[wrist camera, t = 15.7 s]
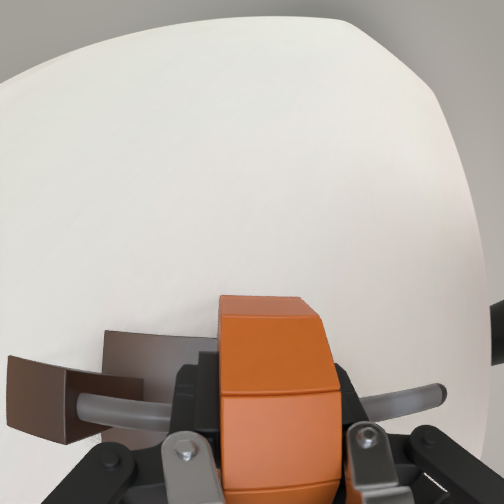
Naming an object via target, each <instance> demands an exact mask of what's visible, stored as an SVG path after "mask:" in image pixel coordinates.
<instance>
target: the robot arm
mask: <svg viewBox="0 0 504 504" xmlns="http://www.w3.org/2000/svg"><path fill="white" fill-rule="evenodd" d="M334 365H335V368H336V372H337V376H338V379H339V383H340V390H339V391H340V392H341V403H342V467H341V478H340V479H339V480H340V484H339V487H338V489H337V492H336V495H335V497H334V500H333V502H332V504H504V478H502V477H501V476H500V475H498V474H497V473H495V472H494V471H493V470H492V469H490V468H489V467H487V466H486V465H485V464H484V463H482V462H481V461H480V460H478V459H477V458H476V457H474V456H473V455H472V454H470V453H469V452H468V451H467V450H465V449H464V448H463V447H461V446H460V445H459V444H457V443H456V442H455V441H454V440H452V439H451V438H450V437H448V436H447V435H446V434H444V433H443V432H442V431H441V430H439V429H438V428H436V427H434V426H431V425H421V426H418V427H417V428H415V429H414V430H413V431H412V433H411V434H410V435H402V434H388V433H386V432H385V430H384V429H383V428H382V427H381V426H379V425H378V424H375V423H373V422H370V421H369V419H368V416H367V414H366V412H365V410H364V408H363V406H362V404H361V402H360V400H359V398H358V395H357V393H356V391H354V390H355V389H354V387H353V385H352V383H351V381H350V379H349V377H348V375H347V373H346V371H345V370H344V369H343V368H342V367H340V366H339V365H338V364H337V363H334ZM217 469H220V397H219V351H199V356H198V365H193V364H184V365H183V366H182V367H181V368H180V370H179V371H178V372H177V374H176V381H175V388H174V396H173V403H172V411H171V419H170V427H169V432H168V435H167V436H166V438H165V439H164V440H163V441H162V442H161V443H159V444H158V445H156V446H153V447H150V448H145V449H138V450H131V451H130V449H128V448H127V447H126V446H124V445H123V444H120V443H117V442H103V443H100V444H97V445H96V446H94V447H93V448H92V449H91V450H90V451H89V452H88V453H87V454H86V455H85V456H84V458H83V459H82V460H81V461H80V462H79V463H78V464H77V465H76V466H75V467H74V468H73V470H72V471H71V472H70V473H69V474H68V475H67V476H66V477H65V478H64V479H63V480H62V481H61V482H60V484H59V485H58V486H57V487H56V488H55V489H54V490H53V491H52V492H51V493H50V494H49V495H48V496H47V498H46V499H45V500H44V501H43V502H42V503H41V504H226V501H225V498H224V494H223V491H222V487H221V484H220V480H219V476H218V473H217ZM424 473H426V474H427V475H429V476H430V477H431V478H432V479H433V480H435V481H436V482H437V483H438V484H439V485H441V486H442V487H443V488H444V489H446V490H447V491H448V492H446V491H444V490H442V489H441V488H440V487H439V486H437V485H436V484H435V483H434V482H433V481H431V480H430V479H429V478H428V477H427V476H425V475H424Z"/></svg>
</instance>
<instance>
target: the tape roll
mask: <svg viewBox="0 0 504 504" xmlns="http://www.w3.org/2000/svg"><path fill="white" fill-rule="evenodd" d="M217 351H219V397H220V469H218V476H219V480H220V484H221V487H222V491H223V494H224V498H225V501H226V504H332V502H333V500H334V497H335V495H336V492H337V489H338V487H339V484H340V480H339V479H340V478H341V467H342V403H341V392H340V391H339V390H340V383H339V379H338V376H337V372H336V368H335V365H334V361H333V358H332V354H331V351H330V347H329V344H328V340H327V337H326V333H325V330H324V327H323V323H322V320H321V318H320V316H319V315H318V314H317V313H316V312H315V311H314V310H313V309H312V308H311V307H309V306H308V305H307V304H306V303H305V302H304V301H303V300H302V299H301V298H300V297H276V296H236V295H221V296H220V299H219V311H218V337H217Z"/></svg>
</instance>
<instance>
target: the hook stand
mask: <svg viewBox="0 0 504 504" xmlns="http://www.w3.org/2000/svg"><path fill="white" fill-rule="evenodd" d="M199 351H217V338H202V337H182V336H166V335H152V334H139V333H128V332H118V331H108V330H105V334H104V347H103V362H102V373H98V372H91V371H84V370H78V369H72V368H67V367H61V366H56V365H51V364H46V363H41V362H36V361H32V360H28V359H23V358H19V357H15V356H11V355H9V356H8V364H7V385H6V416H7V425H8V426H9V427H12V428H14V429H17V430H20V431H22V432H25V433H28V434H31V435H34V436H37V437H40V438H43V439H46V440H50V441H53V442H56V443H60V444H63V445H68V444H71V443H74V442H77V441H79V440H82V439H85V438H88V437H90V436H93V435H96V434H98V433H101V438H102V443H103V442H117V443H120V444H123V445H124V446H126V447H127V448H128V449H130V451H131V450H138V449H145V448H150V447H153V446H156V445H158V444H159V443H161V442H162V441H163V440H164V439H165V438H166V436H167V435H168V432H169V427H170V419H171V411H172V403H173V396H174V388H175V381H176V374H177V372H178V371H179V370H180V368H181V367H182V366H183V365H184V364H193V365H198V356H199ZM446 397H447V390H446V388H445V386H444V385H442V384H439V383H435V384H431V385H426V386H422V387H417V388H413V389H408V390H403V391H398V392H393V393H387V394H382V395H376V396H369V397H363V398H359V400H360V402H361V404H362V406H363V408H364V410H365V412H366V414H367V416H368V419H369V421H370V422H373V423H374V422H379V421H384V420H388V419H393V418H397V417H401V416H405V415H410V414H413V413H417V412H421V411H425V410H428V409H432V408H435V407H438V406H440V405H442V404H443V403H444V402H445V400H446Z"/></svg>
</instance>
